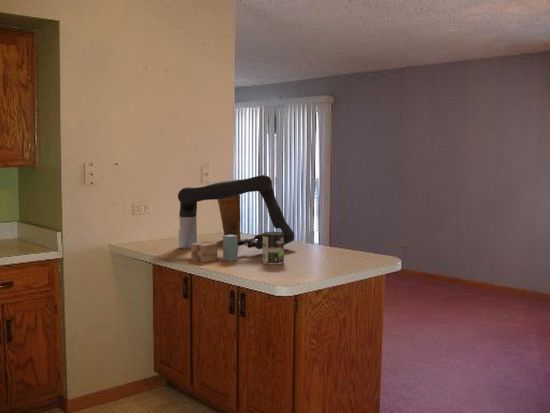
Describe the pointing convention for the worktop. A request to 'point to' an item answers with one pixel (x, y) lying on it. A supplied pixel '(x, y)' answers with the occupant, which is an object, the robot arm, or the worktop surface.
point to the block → (204, 251)
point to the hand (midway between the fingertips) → (242, 244)
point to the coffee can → (273, 248)
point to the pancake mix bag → (230, 215)
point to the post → (230, 247)
